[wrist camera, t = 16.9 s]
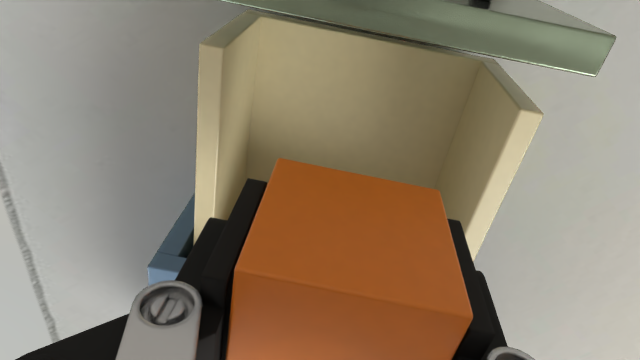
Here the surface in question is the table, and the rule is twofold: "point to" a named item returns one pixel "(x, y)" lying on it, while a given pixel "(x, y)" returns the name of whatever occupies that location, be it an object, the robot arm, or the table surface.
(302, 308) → the matte orange cube
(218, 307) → the robot arm
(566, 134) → the table surface
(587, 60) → the drawer
